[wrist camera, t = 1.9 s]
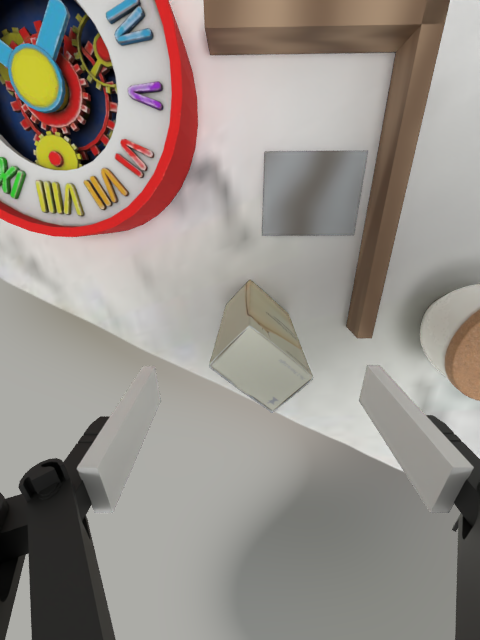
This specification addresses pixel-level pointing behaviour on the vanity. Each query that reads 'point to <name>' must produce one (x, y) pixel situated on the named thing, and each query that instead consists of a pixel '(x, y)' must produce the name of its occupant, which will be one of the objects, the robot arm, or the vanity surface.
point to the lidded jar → (455, 338)
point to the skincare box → (260, 349)
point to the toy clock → (92, 114)
